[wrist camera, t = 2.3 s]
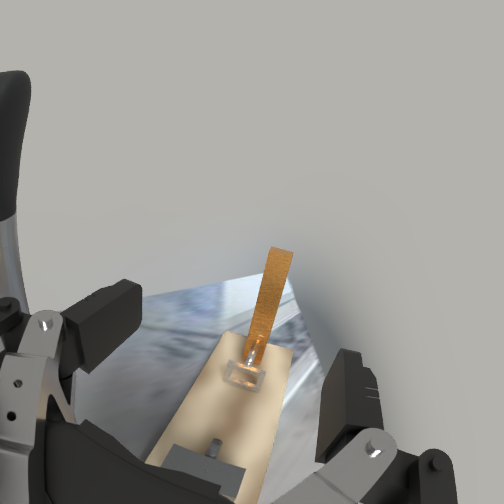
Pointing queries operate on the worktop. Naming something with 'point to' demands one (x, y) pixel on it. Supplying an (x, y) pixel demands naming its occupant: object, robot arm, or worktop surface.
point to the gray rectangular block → (207, 467)
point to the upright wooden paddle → (262, 318)
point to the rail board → (232, 413)
